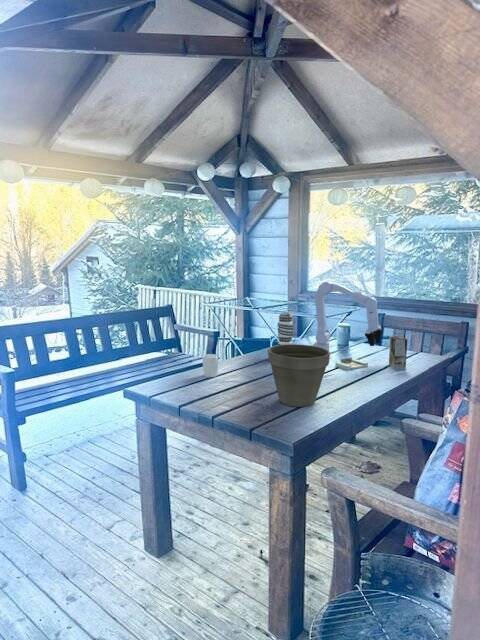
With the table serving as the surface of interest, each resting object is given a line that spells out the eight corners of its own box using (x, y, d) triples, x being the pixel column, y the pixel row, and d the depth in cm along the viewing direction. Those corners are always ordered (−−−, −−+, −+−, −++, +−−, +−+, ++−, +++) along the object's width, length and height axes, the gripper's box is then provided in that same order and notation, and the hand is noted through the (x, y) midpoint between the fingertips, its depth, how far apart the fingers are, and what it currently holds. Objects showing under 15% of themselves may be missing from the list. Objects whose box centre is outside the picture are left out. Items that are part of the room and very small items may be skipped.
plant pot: (339, 400, 189) (341, 349, 186) (306, 417, 171) (307, 360, 168) (290, 388, 206) (291, 341, 202) (255, 402, 188) (255, 350, 184)
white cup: (221, 374, 229) (221, 355, 227) (213, 378, 221) (213, 358, 220) (207, 372, 232) (207, 353, 230) (199, 376, 225) (199, 356, 223)
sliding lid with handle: (338, 365, 243) (338, 359, 242) (352, 363, 248) (352, 357, 247) (350, 369, 235) (351, 362, 235) (364, 366, 240) (365, 360, 240)
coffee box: (406, 370, 236) (407, 339, 234) (393, 369, 236) (395, 339, 234) (400, 365, 245) (402, 336, 243) (388, 365, 245) (389, 335, 243)
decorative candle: (274, 354, 271) (274, 312, 267) (287, 353, 274) (288, 311, 270) (282, 357, 262) (282, 314, 258) (295, 356, 266) (296, 313, 262)
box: (335, 367, 242) (335, 362, 241) (355, 363, 249) (355, 359, 249) (347, 371, 234) (347, 366, 234) (367, 367, 242) (368, 362, 241)
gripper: (374, 321, 238) (376, 347, 239) (385, 317, 249) (387, 342, 250) (361, 322, 243) (363, 347, 244) (373, 317, 253) (375, 341, 255)
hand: (375, 344), depth 247 cm, fingers open, 7 cm apart
